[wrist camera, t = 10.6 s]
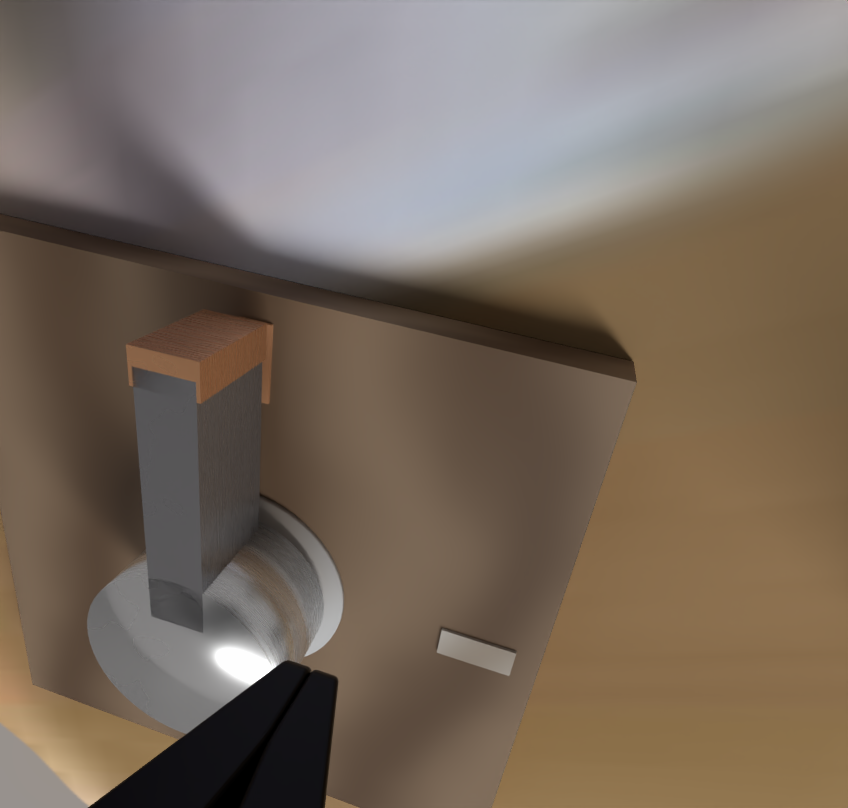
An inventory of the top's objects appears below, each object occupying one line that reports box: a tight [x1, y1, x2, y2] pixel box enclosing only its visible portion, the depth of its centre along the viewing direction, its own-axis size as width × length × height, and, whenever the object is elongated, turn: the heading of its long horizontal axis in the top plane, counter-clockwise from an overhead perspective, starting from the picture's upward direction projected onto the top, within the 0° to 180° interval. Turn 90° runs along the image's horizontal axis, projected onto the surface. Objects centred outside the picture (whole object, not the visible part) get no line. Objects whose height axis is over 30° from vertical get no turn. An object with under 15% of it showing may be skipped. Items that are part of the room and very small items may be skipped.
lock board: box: [0, 214, 637, 808], centre depth 21 cm, size 20×20×2 cm
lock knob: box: [87, 309, 324, 734], centre depth 17 cm, size 12×6×3 cm, turn 172°
